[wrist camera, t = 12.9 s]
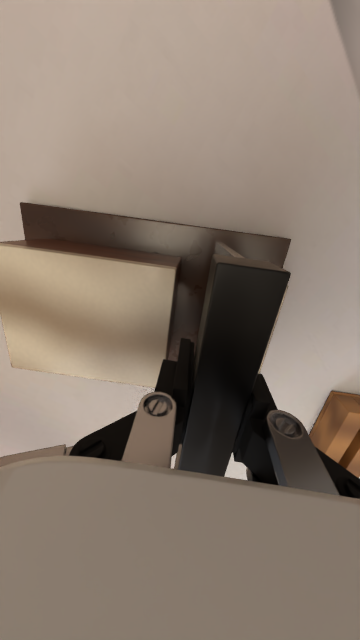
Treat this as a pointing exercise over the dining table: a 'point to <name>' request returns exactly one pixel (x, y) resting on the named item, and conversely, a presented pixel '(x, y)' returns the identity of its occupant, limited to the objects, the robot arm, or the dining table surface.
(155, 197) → the dining table surface
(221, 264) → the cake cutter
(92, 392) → the dining table surface
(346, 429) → the knife block
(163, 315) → the cake
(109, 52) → the dining table surface
